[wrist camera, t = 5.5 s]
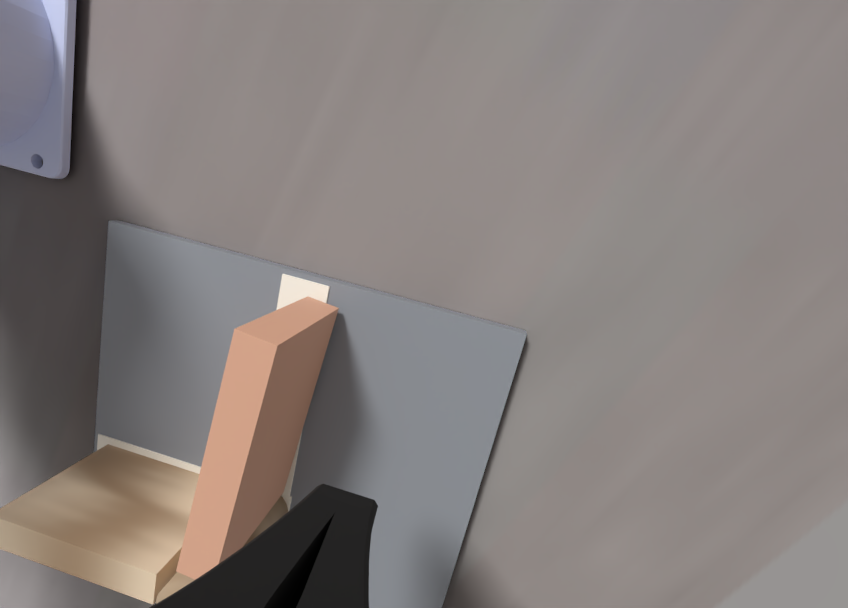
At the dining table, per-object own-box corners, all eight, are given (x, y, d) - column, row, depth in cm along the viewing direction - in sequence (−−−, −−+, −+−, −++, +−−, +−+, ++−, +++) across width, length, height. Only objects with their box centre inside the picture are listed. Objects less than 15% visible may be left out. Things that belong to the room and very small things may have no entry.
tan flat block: (283, 492, 17) (212, 587, 13) (256, 480, 17) (175, 571, 13) (339, 308, 15) (277, 345, 11) (308, 296, 15) (234, 328, 11)
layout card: (98, 519, 20) (87, 528, 19) (119, 220, 17) (106, 220, 16) (431, 635, 18) (429, 648, 18) (525, 330, 15) (526, 334, 15)
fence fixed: (106, 475, 19) (-22, 562, 14) (109, 435, 18) (-22, 510, 13) (284, 535, 18) (211, 648, 13) (292, 494, 17) (220, 596, 13)
